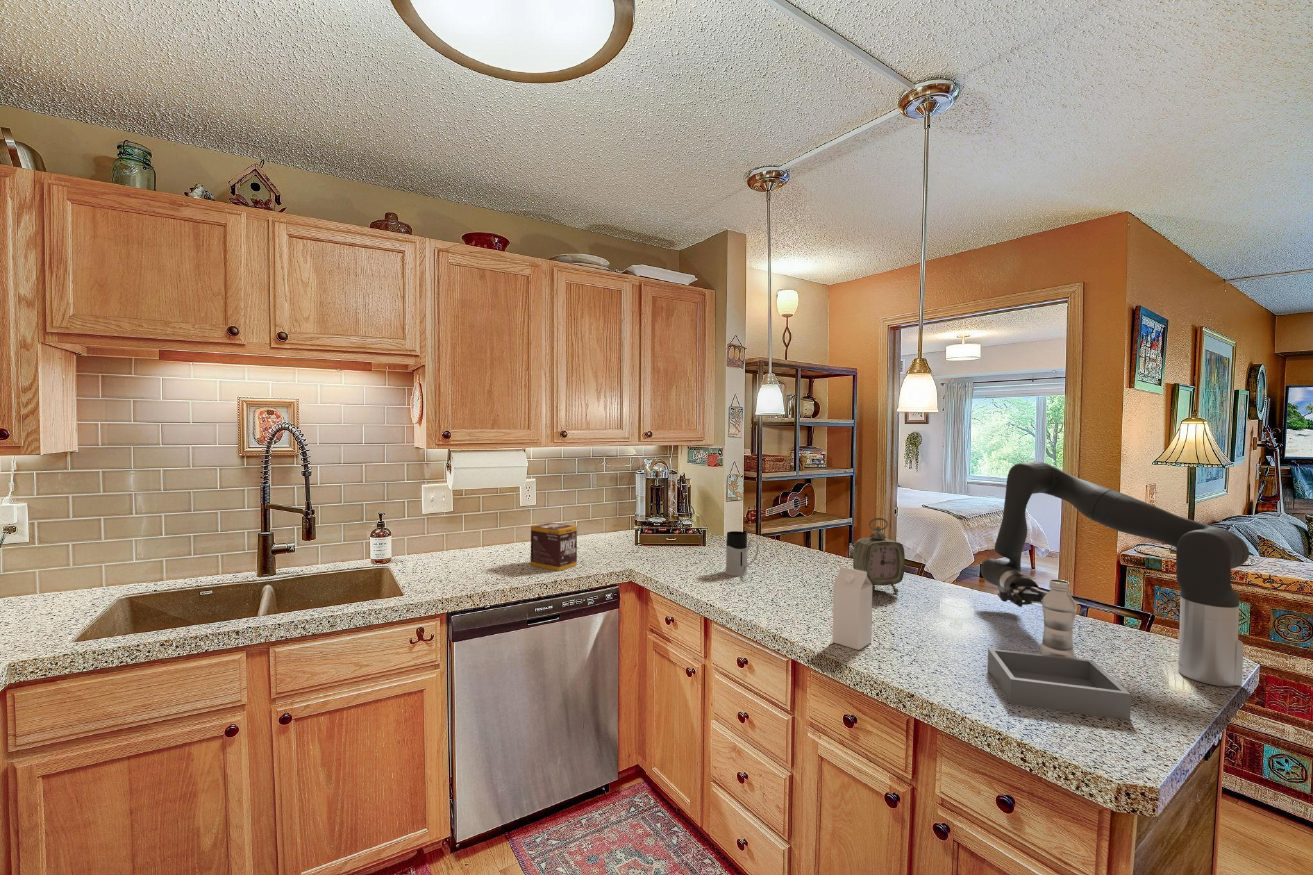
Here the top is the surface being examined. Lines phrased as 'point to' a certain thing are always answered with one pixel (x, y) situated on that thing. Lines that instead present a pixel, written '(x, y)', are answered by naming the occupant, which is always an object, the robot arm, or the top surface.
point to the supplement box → (554, 546)
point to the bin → (1058, 683)
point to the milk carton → (852, 608)
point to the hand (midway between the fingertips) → (1040, 604)
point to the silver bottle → (1058, 620)
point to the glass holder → (737, 553)
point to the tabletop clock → (880, 558)
